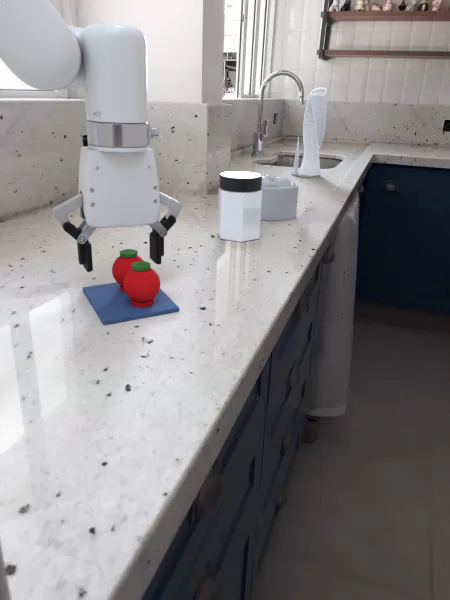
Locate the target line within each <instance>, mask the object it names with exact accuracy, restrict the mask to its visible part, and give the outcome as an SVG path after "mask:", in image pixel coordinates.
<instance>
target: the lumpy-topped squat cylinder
mask: <svg viewBox="0 0 450 600" xmlns="http://www.w3.org/2000/svg"><path fill="white" fill-rule="evenodd" d="M261 191H262V206H261V221H288V220H293V219H295V218H296V217H297V211H298V210H297V209H298V196H299V185H298V184H296V183H295V182H292V181H290V179H289V178H287V177H285V176H276V175H275V174H266V175H265V176H264V175H262V187H261Z"/></svg>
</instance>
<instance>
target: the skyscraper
mask: <svg viewBox="0 0 450 600" xmlns="http://www.w3.org/2000/svg"><path fill="white" fill-rule="evenodd" d="M317 90H325V91H324V92H317ZM327 92H328V87H324V86H319V87H316V88H313V89H312V90H311V91H310V92H309V94H308V96H307V100H306V104H305V108H304V115H303V121H302V142H303V143H302V144H303V151H304V153H303V156H302V160H301V164H300V163H299V160H300V159H299V158H300V149H299V147H300V136H297V142H296V149H295V150H294V160H293V161H294V162H293V172H292V173H291V176H294V177H300V178H304V179H311V178H319V177H321V162H320V161H321V160H320V149H321V147H322V144H323V140H324V137H325V133H326V127H327V118H328V116H327V115H328V114H327V112H328V104H327V102H328V101H327ZM299 166H300V167H299Z"/></svg>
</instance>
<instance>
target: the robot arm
mask: <svg viewBox="0 0 450 600" xmlns="http://www.w3.org/2000/svg"><path fill="white" fill-rule="evenodd" d="M147 42H148V41H147V38H146V35H145V34H144V32H143V31H142V30H141V29H140V28H138V27H135V26H131V25H126V24H120V23H119V24H118V23H107V22H106V23H91V24H89V25H87V26H86V27H80V26H75V25H74V26H73V25H68V24H67V22H66V21H65V20H64V19H63V17H62V16H61V15H60V13H59V12H58V10H57V9H56V8H55V6H54V5H53V4H52V2H51V1H50V0H0V59H1V61H2V63H4V65H5V66H6V67H7V68H8V69H9V70H10V72H11V73H12V74H13V75H14V76H15V77H16V78H18V79H19V80H20V81H21V82H22V83H24V84H25V85H27V86H29V87H31V88H33V89H37V90H40V91H59V90H66V89H67V90H69V89H82V88H83V89H84V103H85V104H84V105H85V120H86V121H85V122H86V136H87V138H86V139H87V146H81V148H80V154H79V163H78V165H79V166H78V194H75V195H74V196H72V197H70V198H69V199H66V200H65V201H64V202H61V203H60V204H58V205H56V206H54V207H53V208H52V213H53V216H54V217H55V219H56V220H57V222H58V223H59V225H60V226H61V227H62V229H63V231H64V232H66V233H67V234H68V235H69V236H70V237H72V238H73V239H74V240H76V244H77V245H76V246H77V259H78V264H79V265H80V266H81V265H82V266H83V268H84V269H85V271H86V272H87V273H91V272H93V271H94V264H93V249H92V243H91V242H90V241H89V238H90V237H92V235H93V233H94V232H95V231H96V230H97V229H113V228H115V229H116V228H129V227H142V226H149V227H150V228H151V231H150V233H149V235H148V236H149V237H148V238H149V243H148V244H149V259H150V260H151V261H152V262H153V263H154V264H155V265H162V257H164V255H165V237H166V236H168V232H169V231H170V230H171V228H172V227H173V226H174V225H175V224H176V222H177V218H178V217H179V215H180V213H181V211H182V209H183V203H181V201H178V200H176V199H174V198H172V197H170V196H168V195H166V194H164V193H163V192H160V184H159V183H160V182H159V176H158V169H157V162H156V158H155V152H154V149H153V148H152V147H149V145H150V144H151V141H152V140H156V139H157V140H158V139H159V137H160V136H159V135H160V133H159V132H160V131H159V128H158V127H152V126H151V125H150V124H151V123H148V122H149V116H148V115H149V109H148V108H149V106H148V105H149V101H148V98H149V97H148V96H149V95H148V93H149V92H148V43H147ZM161 204H162V205H164V206H166V207H167V213H166V214H165V215H164V216H163V217H162V218H161V219H160V216H161ZM77 209H78V211H79V216H80V218H81V219H82V220H81V222H80V223H79V224H78V226H76V225H75V224H74V223H72V222H71V221H70V219H69V217H68V216H69V214H71V213H72V212H74V211H75V210H77ZM159 219H160V220H159Z"/></svg>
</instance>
